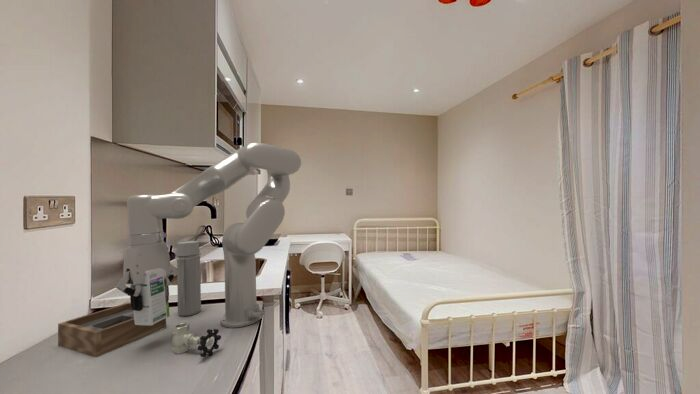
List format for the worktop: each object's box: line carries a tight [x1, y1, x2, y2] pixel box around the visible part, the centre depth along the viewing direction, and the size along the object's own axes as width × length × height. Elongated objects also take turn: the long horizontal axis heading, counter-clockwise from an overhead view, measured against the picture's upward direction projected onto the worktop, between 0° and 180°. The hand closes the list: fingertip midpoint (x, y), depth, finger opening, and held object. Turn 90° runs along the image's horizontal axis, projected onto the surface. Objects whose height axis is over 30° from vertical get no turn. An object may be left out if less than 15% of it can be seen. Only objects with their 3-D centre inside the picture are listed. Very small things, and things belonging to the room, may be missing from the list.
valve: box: [171, 322, 222, 358], centre depth 72 cm, size 7×7×12 cm
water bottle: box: [175, 240, 202, 317], centre depth 98 cm, size 9×8×25 cm
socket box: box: [57, 301, 167, 358], centre depth 82 cm, size 18×18×6 cm
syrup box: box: [131, 268, 171, 326], centre depth 76 cm, size 6×6×14 cm
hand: (151, 304), depth 76 cm, fingers closed on syrup box, 6 cm apart
